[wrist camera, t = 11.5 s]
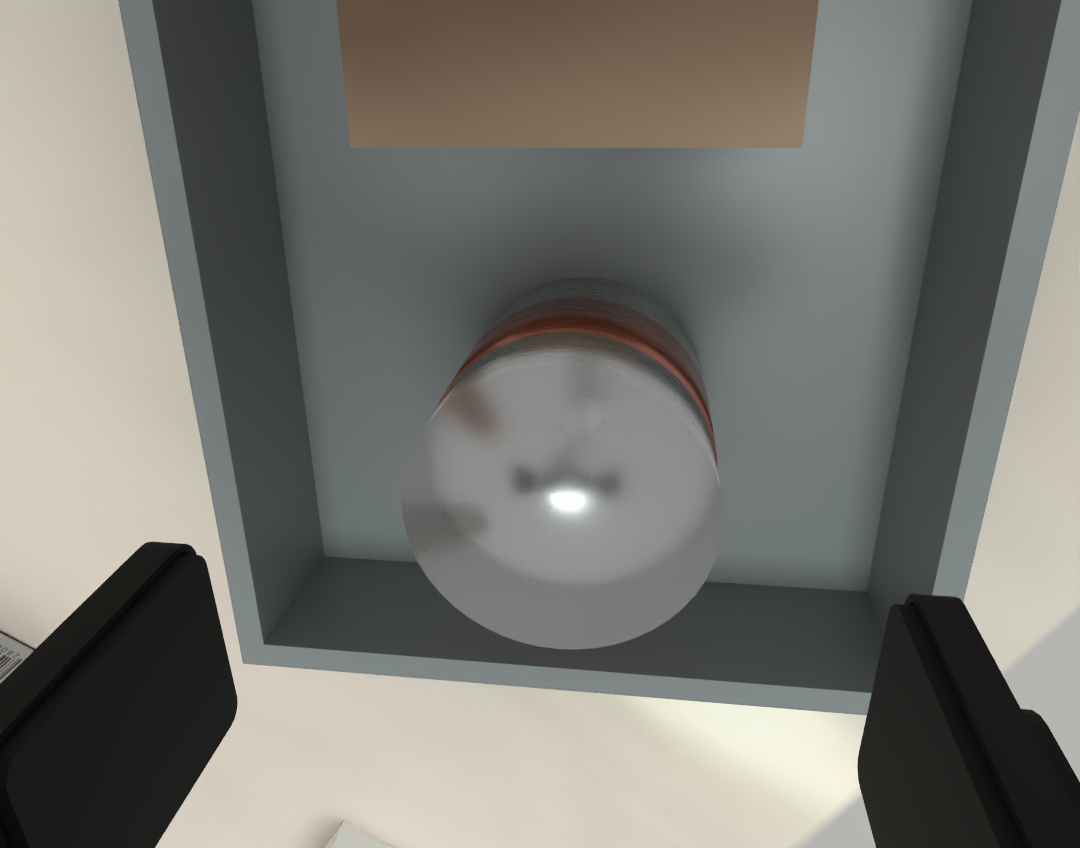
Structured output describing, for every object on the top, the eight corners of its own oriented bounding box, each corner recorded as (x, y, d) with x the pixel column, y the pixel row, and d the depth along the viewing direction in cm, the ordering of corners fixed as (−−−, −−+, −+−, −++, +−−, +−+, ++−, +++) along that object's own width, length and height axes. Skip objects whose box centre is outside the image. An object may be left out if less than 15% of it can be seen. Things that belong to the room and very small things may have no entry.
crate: (197, -277, 18) (43, -398, 13) (1059, -333, 16) (1223, -500, 11) (313, 563, 27) (243, 663, 22) (882, 601, 24) (934, 720, 20)
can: (464, 273, 21) (385, 358, 15) (712, 277, 21) (739, 369, 14) (475, 490, 24) (411, 640, 18) (696, 500, 23) (713, 662, 17)
